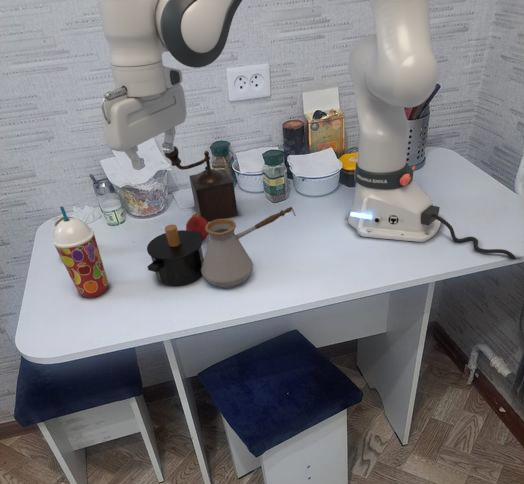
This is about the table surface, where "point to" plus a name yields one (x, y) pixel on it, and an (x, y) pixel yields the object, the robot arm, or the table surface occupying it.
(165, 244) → the pot lid
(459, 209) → the table surface
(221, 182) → the coffee grinder
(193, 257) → the pot
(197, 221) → the red rounded piece
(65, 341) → the table surface
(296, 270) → the table surface
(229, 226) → the coffee pot
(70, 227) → the smoothie
